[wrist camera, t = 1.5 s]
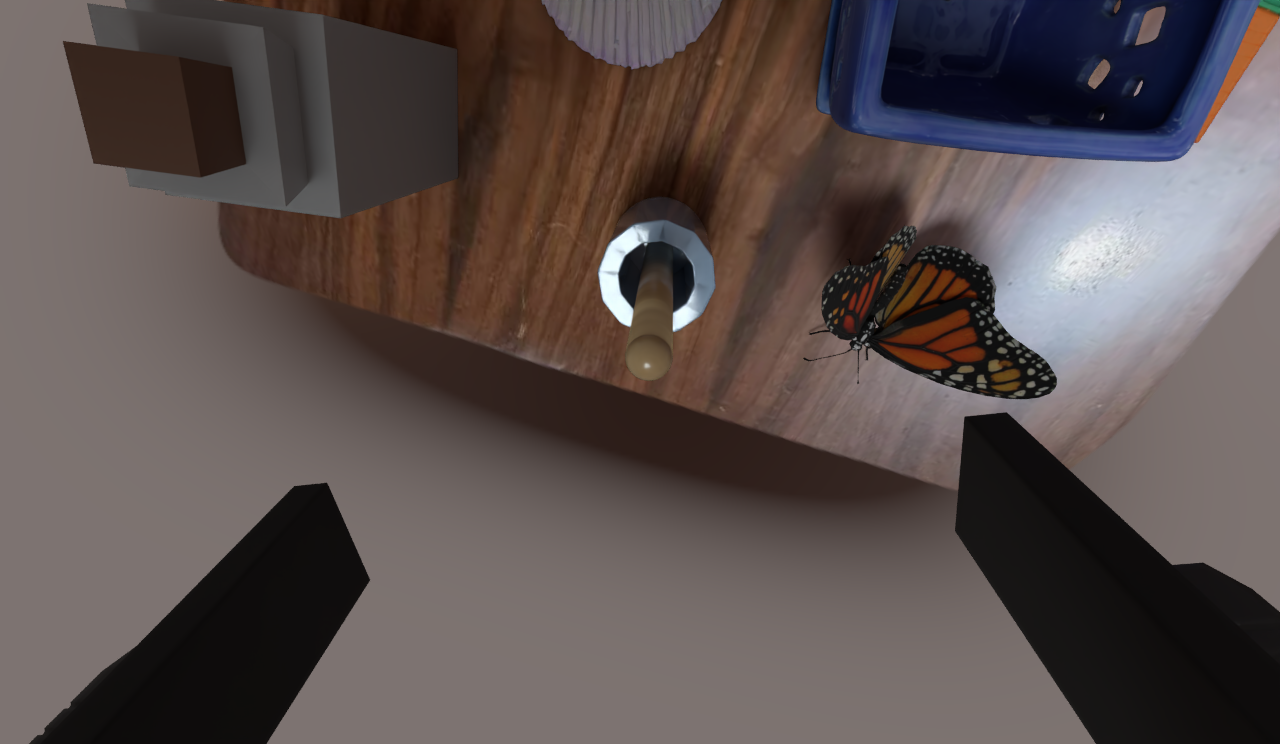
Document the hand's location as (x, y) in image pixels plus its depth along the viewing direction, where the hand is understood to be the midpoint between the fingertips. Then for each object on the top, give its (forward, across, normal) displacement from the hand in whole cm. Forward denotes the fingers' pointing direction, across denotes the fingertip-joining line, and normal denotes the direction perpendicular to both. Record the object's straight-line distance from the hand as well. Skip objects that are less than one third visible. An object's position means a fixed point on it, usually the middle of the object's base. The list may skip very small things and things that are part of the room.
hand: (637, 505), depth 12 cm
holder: (+26, 0, 0) cm, 26 cm away
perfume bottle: (+26, -14, +10) cm, 31 cm away
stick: (+25, 0, 0) cm, 25 cm away
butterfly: (+26, +12, -5) cm, 29 cm away
